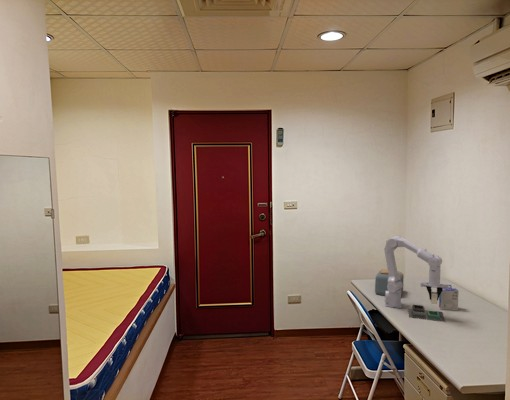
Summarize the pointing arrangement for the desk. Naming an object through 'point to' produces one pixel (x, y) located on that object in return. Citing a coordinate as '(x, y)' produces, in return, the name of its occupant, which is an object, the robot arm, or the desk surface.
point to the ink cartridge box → (449, 299)
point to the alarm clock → (384, 282)
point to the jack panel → (425, 313)
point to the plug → (433, 297)
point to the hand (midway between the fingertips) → (433, 299)
